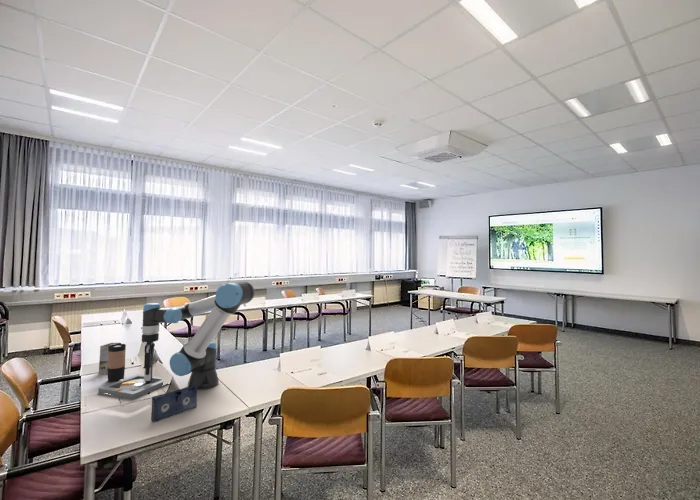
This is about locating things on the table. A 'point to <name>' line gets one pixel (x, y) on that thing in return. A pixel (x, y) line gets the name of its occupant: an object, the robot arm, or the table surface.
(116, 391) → the gray square tray
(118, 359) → the travel mug
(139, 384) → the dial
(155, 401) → the vhs cassette tape
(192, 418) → the table surface
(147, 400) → the table surface
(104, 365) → the coffee box
